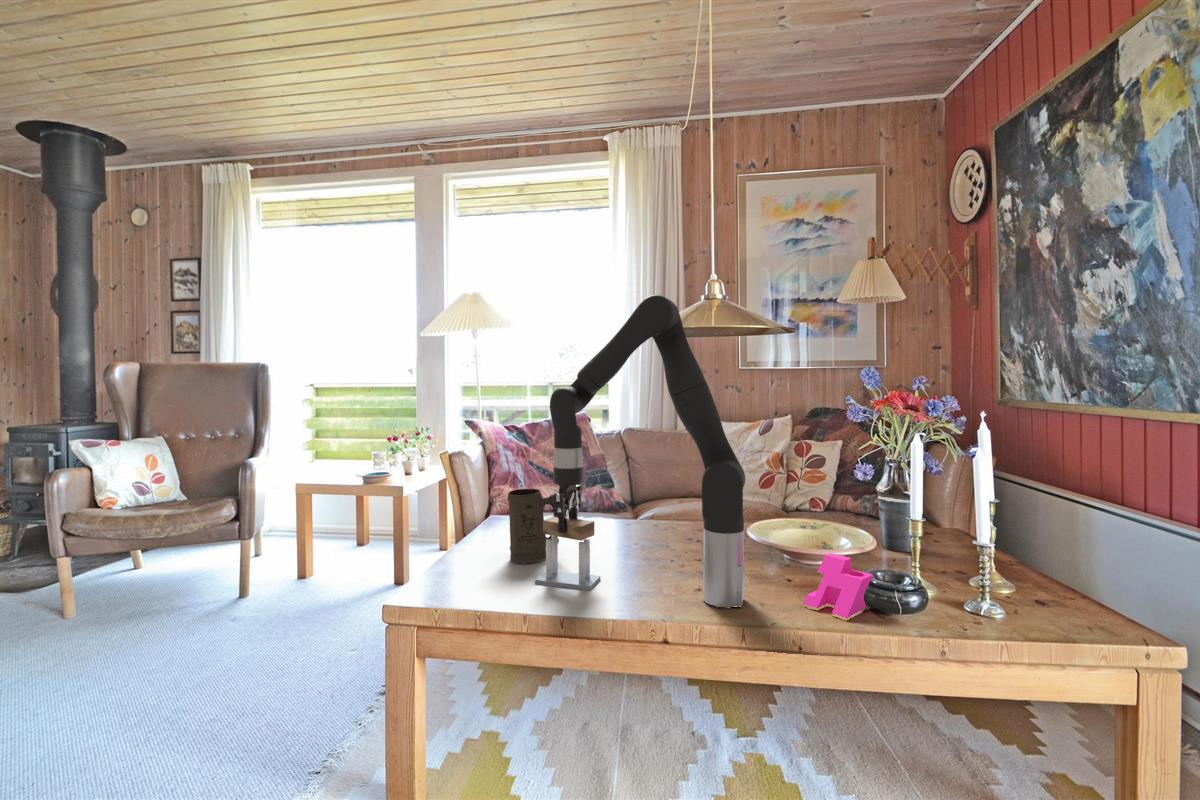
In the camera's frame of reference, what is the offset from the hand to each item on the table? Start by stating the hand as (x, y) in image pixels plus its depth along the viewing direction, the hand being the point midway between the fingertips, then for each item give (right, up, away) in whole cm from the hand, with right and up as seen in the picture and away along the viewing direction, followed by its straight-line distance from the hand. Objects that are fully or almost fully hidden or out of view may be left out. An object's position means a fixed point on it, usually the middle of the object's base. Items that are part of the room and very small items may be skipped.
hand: (568, 529), depth 147 cm
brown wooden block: (0, -1, 0) cm, 1 cm away
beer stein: (-11, -13, +20) cm, 26 cm away
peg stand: (0, -14, 0) cm, 14 cm away
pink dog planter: (+63, -15, -16) cm, 66 cm away
